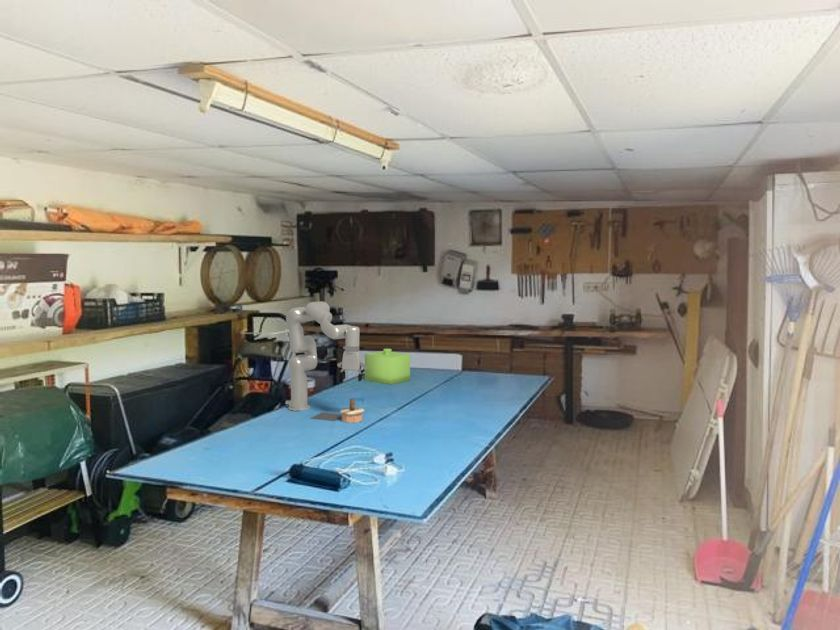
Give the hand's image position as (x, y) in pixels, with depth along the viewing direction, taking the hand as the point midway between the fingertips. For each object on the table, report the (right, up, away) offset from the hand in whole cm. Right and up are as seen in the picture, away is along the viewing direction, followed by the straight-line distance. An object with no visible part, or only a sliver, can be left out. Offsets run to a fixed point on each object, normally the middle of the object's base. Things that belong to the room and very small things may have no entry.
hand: (351, 380), depth 358 cm
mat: (-14, -22, +9) cm, 27 cm away
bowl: (0, -23, +2) cm, 23 cm away
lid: (0, -18, +2) cm, 18 cm away
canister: (+14, -12, +118) cm, 119 cm away
